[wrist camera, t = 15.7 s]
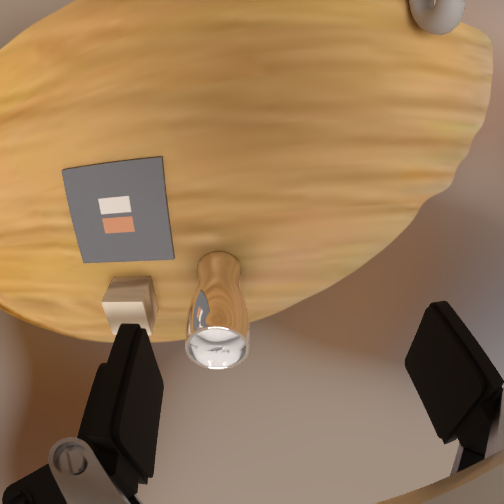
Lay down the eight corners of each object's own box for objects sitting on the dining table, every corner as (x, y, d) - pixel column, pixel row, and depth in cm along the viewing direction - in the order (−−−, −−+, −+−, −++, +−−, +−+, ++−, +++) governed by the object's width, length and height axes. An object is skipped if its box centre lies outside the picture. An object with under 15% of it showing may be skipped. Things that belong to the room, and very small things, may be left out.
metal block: (113, 276, 43) (101, 301, 38) (151, 275, 44) (142, 301, 38) (122, 308, 46) (113, 334, 41) (158, 308, 47) (151, 335, 41)
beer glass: (250, 282, 45) (259, 362, 32) (205, 295, 46) (199, 376, 33) (235, 241, 42) (238, 317, 29) (186, 257, 42) (171, 334, 29)
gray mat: (63, 169, 35) (61, 170, 34) (162, 156, 35) (161, 157, 35) (84, 261, 42) (83, 263, 41) (174, 257, 42) (174, 259, 42)
